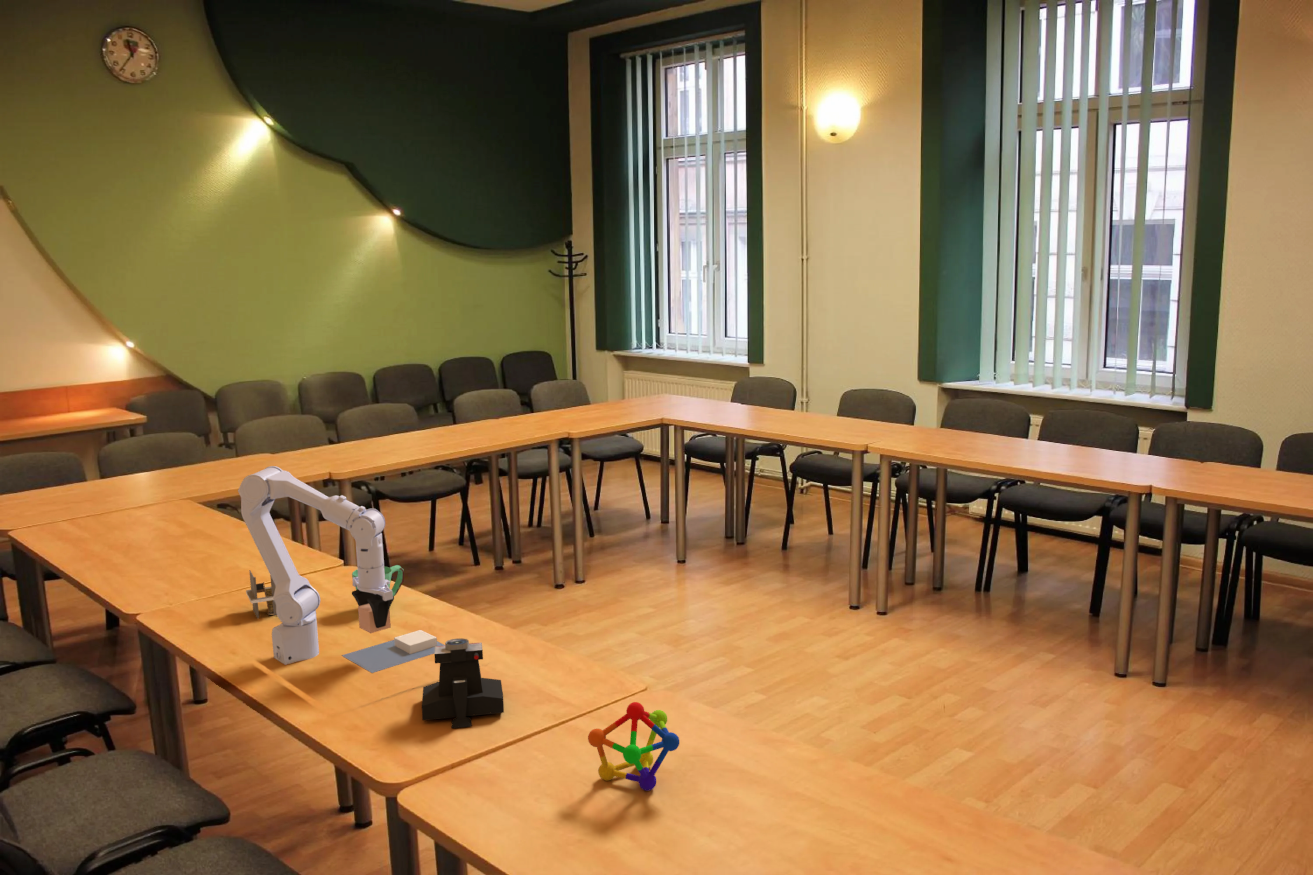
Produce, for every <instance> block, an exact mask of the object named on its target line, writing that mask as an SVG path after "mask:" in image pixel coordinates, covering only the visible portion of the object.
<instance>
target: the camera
mask: <svg viewBox="0 0 1313 875" xmlns="http://www.w3.org/2000/svg"><path fill="white" fill-rule="evenodd" d="M444 643H445V644H444V645H445V646H435V653H434V664H439V671H438V672H439V677H438V678H439V680H438V681H437V682H434V683H430V684H427V685H425V686H423V688H422V696H421V697H422V698H421V699H422V700H421V716H422V718H421V719H422V721H430V720H439V719H440V720H441V719H451V718H453V719H452V720H451V729H457V728H465V727H466V728H467V727H468V728H469V727H472V726H473V725H472V724H473V723H472V722H473V721H472V718H471V717H469V716H472V717H473V716H480V715H493V714H501V713H502V714H503V713H505V711H504V710H505V706H504V693H503V692H504V691H503V686H502V685H503V684H502V680H501V679H496V678H487V677H482V673H481V668H480V662H479V660H484V652H483V642H470V641H469V639H467V638H460V637H459V638H452V639H449V640H446V641H445V642H444Z"/></svg>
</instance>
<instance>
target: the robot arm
mask: <svg viewBox="0 0 1313 875" xmlns="http://www.w3.org/2000/svg"><path fill="white" fill-rule="evenodd" d="M237 492H238V494H239V497H240V502H241V506H240V507H241V508H240V509H241V510H240V511H241V516H242V517H241V518H242V519H243V522H244V523H245V526H246V528H247V530H248V531H249V533H250V535H251V538H252V540H253V541H254V544H255V547H256V548H257V550H258V552H259V555H260V556H261V558H262V561H263V563H264V565H265V567H266V569H267V571H268V574H269V576H270V575H271V577H272V579H273V581H274V583H275V586H276V588H275V592H274V596H273V599H274V601H275V603H276V613H277V615H276V616H277V619H279V620H280V621H279V622H281V623H280V624H279V625H276V626H274V627H273V628H272V631H271V638H272V639H271V642H272V653H273V659H275V660H277V661H278V662H279V663H281V664H283V665H285V666H286V665H289V664H294V663H296V662H297V663H298V662H300V661H306V660H310V659H314V658H315V657H317V656H319V654H320V646H319V634H318V633H319V632H318V621H317V609H319V607H320V604H321V597H320V596H321V595H320V593H319V592H318V591H317V589H315V588H314V587H313V586H312V584H311V583H310V581H309V579H308V578H306V577H304V576H301V575H300V574H299V572H298V570H297V568H296V566H295V563H294V561H293V559H292V558H291V555H290V554H289V551H288V549H287V547H286V545H285V542H284V541H283V538H282V536H281V535H280V532H279V530H278V528H277V526H276V524H275V522H274V519H273V518H272V516H271V515H272V514H271V513H270V511H271V509H272V507H273V505H274V503H275V500H276V499H281V498H282V499H283V498H290V499H293V500H295V501H298V502H300V503H302V504H305V505H307V506H308V507H310V508H314V509H316V510H318V511H320V513H321V514H322V517H323V518H324V519H325V520H327V521H329V522H330V523H333V524H334V525H337V526H338V527H341V528H342V529H344V530H346V531H349V533H350V535H351V537H352V538H353V539H354V540H355V550H356V564H357V565H356V566H357V568H356V569H358V577H354V578H352V586H353V587H357V588H358V589H357V590H356V589H355V590H352V592H351V595H352V597H353V598H354V599H355V602H356V604H357V605H358V606H361V605H365V604H370V607H371V609H372V612H373V617H374V622H375V626H376V628H380V627H384V626H386V622H387V616H388V612H389V608H391V605H392V603H393V602H394V600H395V596H393V592H392V589H391V588H390V589H389V587H388V584H390V585H391V582H390V581H389V580H387V579H385V573H384V566H385V560H384V558H385V557H384V544H383V533H382V532H383V531H384V529H385V528H386V519H385V516H384V515H383V513H381V512H380V511H379V510H378V509H376V508H368V509H366V507H365V506H363V505H361V506H359V505H357V504H355V503H354V502H351V501H349V500H348V499H347V497H346V496H345V495H343V494H341V495H340V496H339V495H332V496H327V495H325V493H323V492H320V491H319V490H317V489H316V488H313V487H312V486H310V485H309V484H306V483H305V482H303V481H302V480H299V479H298V478H296V477H295V476H293V475H292V473H291V472H290V471H288V470H285V469H284V470H283V469H282V468H281V467H279V466H276V465H275V466H274V465H270V466H267V467H265V468H264V469H262V470H259V471H257V472H254V473H252V474H249V475H247V476H245V477H244V478H243V479H242V481H241V483H240V485H239V487H238V490H237ZM271 577H270V578H271ZM358 606H357V607H358Z"/></svg>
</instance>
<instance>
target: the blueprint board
mask: <svg viewBox="0 0 1313 875" xmlns="http://www.w3.org/2000/svg"><path fill="white" fill-rule="evenodd" d="M435 646H445V644H443V643H442V642H439V641H438V639H437V636H435V635H432V634H430V633H428V632H426V631H424V630H422V629H419V630H415V631H412V632H407V633H405V634H402V635H398V636H395V637H393V639H392V640H388V641H385V642H382V643H379V644H375V645H372V646H368V647H366V648H365V647H364V648H361V649H358V650H355V651H351V652H348V653H345V654H342V655H341V656H342V657H343V658H345V659H347V660H349V661H351V663H353V664H355V665H357V666H359V667H360V668H362V669H364V670H366V671H367V672H369V673H371V674H374V673H378V672H380V671H383V670H386V669H390V668H392V667H396V666H399V665H402V664H405V663H408V662H412V661H415V660H418V659H421V658H422V659H423V658H425V657H428V656H430V655H433V654H434V653H435Z"/></svg>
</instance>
